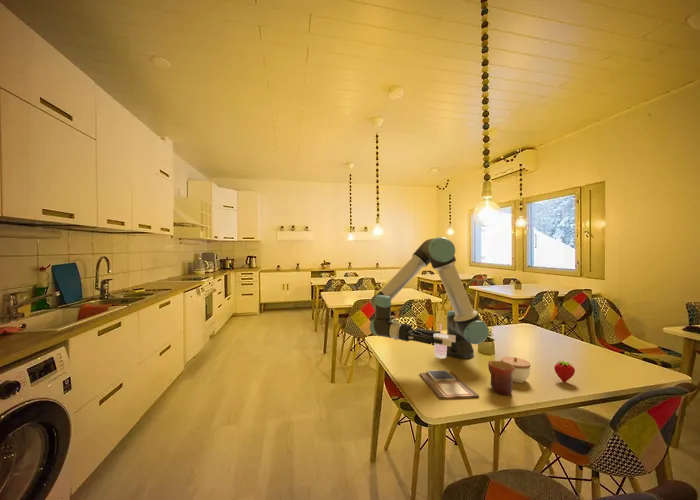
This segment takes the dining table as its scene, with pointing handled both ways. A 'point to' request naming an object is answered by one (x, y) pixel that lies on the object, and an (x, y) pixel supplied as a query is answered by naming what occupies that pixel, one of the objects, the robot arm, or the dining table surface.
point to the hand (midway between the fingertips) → (453, 340)
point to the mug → (501, 377)
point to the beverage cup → (440, 346)
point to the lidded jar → (518, 368)
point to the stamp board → (448, 385)
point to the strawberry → (564, 370)
